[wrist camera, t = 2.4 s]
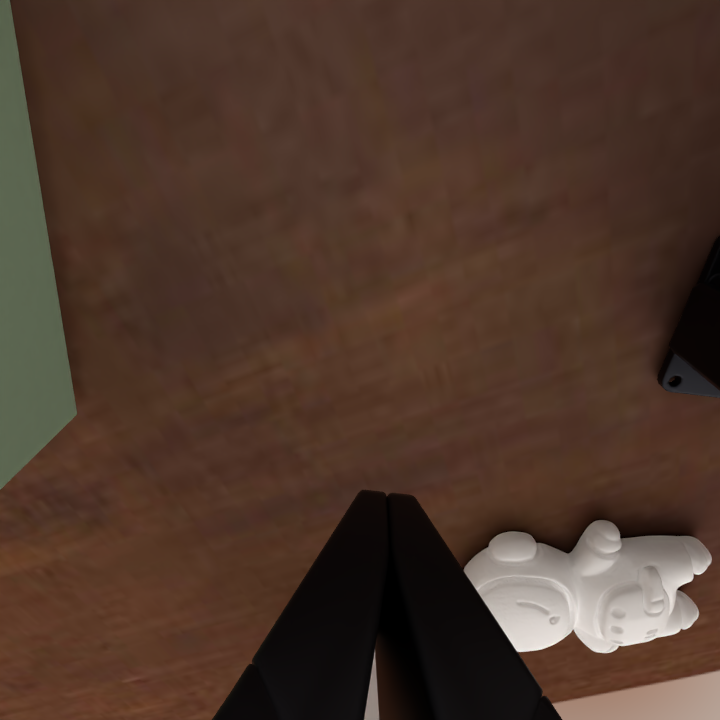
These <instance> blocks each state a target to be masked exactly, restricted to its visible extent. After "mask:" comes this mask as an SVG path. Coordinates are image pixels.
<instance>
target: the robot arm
mask: <svg viewBox="0 0 720 720" xmlns="http://www.w3.org/2000/svg"><path fill="white" fill-rule="evenodd" d="M669 346H670V348H669V351H668V353H667V356H666V358H665V360H664V363H663V365H662V367H661V370H660V372H659V374H658V379H657V380H658V383H659V384H660V385H661V386H662V387H663V388H664V389H665V390H666V391H669V392H676V393H684V394H693V395H701V396H709V397H718V398H720V236H719V237H718V238H717V239H716V241H715V242H714V245H713V247H712V249H711V252H710V254H709V256H708V259H707V261H706V263H705V266H704V268H703V271H702V273H701V275H700V278H699V280H698V282H697V285H696V286H695V287H694V288H693V289H692V292H691V294H690V296H689V299H688V301H687V303H686V306H685V308H684V310H683V313H682V315H681V318H680V320H679V322H678V325H677V327H676V329H675V332H674V334H673V337H672V339H671V341H670V344H669ZM673 376H676V378H675V380H673V381H672V382H669V380H670V378H671V377H673ZM374 653H375V660H376V676H377V692H378V707H379V720H562V719H561V717H560V716H559V714H558V713H557V711H556V710H555V708H554V706H553V705H552V703H551V702H550V700H549V699H548V697H546V696H542V693H543V691H542V689H541V687H540V686H539V684H538V683H537V681H536V680H535V678H534V676H533V675H532V673H531V672H530V670H529V669H528V667H527V666H526V664H525V663H524V661H523V660H522V658H521V657H520V655H519V654H518V652H517V651H516V649H515V648H514V646H513V645H512V643H511V642H510V640H509V639H508V637H507V636H506V634H505V633H504V631H503V630H502V628H501V627H500V625H499V624H498V622H497V621H496V619H495V617H494V616H493V614H492V613H491V611H490V610H489V608H488V607H487V605H486V604H485V602H484V601H483V599H482V598H481V596H480V595H479V593H478V592H477V590H476V589H475V587H474V586H473V584H472V583H471V581H470V580H469V578H468V577H467V575H466V574H465V572H464V571H463V569H462V568H461V566H460V565H459V563H458V561H457V560H456V558H455V557H454V555H453V554H452V552H451V551H450V549H449V548H448V546H447V545H446V543H445V542H444V540H443V539H442V537H441V536H440V534H439V533H438V531H437V530H436V528H435V527H434V525H433V524H432V522H431V521H430V519H429V518H428V516H427V515H426V513H425V512H424V510H423V509H422V507H421V506H420V504H419V502H418V501H417V499H416V498H415V497H414V496H412V495H407V494H398V493H390V494H389V495H388V496H386V494H385V493H384V492H380V491H371V490H361V491H360V492H359V493H358V494H357V496H356V498H355V499H354V501H353V502H352V504H351V505H350V507H349V509H348V510H347V512H346V513H345V515H344V516H343V518H342V519H341V521H340V523H339V524H338V526H337V527H336V529H335V530H334V532H333V534H332V535H331V537H330V538H329V540H328V541H327V543H326V545H325V546H324V548H323V549H322V551H321V552H320V554H319V555H318V557H317V559H316V560H315V562H314V563H313V565H312V566H311V568H310V570H309V571H308V573H307V574H306V576H305V577H304V579H303V581H302V582H301V584H300V585H299V587H298V588H297V590H296V592H295V593H294V595H293V596H292V598H291V599H290V601H289V602H288V604H287V606H286V607H285V609H284V610H283V612H282V613H281V615H280V617H279V618H278V620H277V621H276V623H275V624H274V626H273V628H272V629H271V631H270V632H269V634H268V635H267V637H266V638H265V640H264V642H263V643H262V645H261V646H260V648H259V649H258V651H257V653H256V654H255V656H254V657H253V659H252V664H249V665H248V666H247V668H246V669H245V671H244V672H243V674H242V675H241V677H240V679H239V680H238V682H237V683H236V685H235V686H234V688H233V689H232V691H231V693H230V694H229V695H228V697H227V698H226V700H225V701H224V703H223V704H222V706H221V707H220V709H219V710H218V712H217V713H216V715H215V716H214V717H213V719H212V720H364V717H365V710H366V704H367V698H368V691H369V685H370V678H371V672H372V666H373V659H374ZM541 696H542V697H541Z"/></svg>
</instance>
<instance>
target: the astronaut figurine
mask: <svg viewBox="0 0 720 720" xmlns="http://www.w3.org/2000/svg"><path fill="white" fill-rule="evenodd" d="M711 561H712V558H711V554H710V553H709V551H708V550H707V549H706V547H705V546H704V545H703V544H702V543H701V542H700V541H699V540H698V539H696V538H694V537H691V536H640V537H632V538H622V539H620V532H619V530H618V528H617V527H616V526H615V525H614V524H613V523H612V522H610V521H607V520H597V521H594V522H593V523H591V524H590V525H589V526H588V527H587V528H586V530H585V531H584V533H583V534H582V536H581V537H580V539H579V541H578V543H577V544H576V546H575V548H574V549H573V550H572V551H571V552H570V553H568V554H567V553H564V552H562V551H560V550H558V549H556V548H553V547H551V546H549V545H546V544H543V543H536V542H535V540H534V538H533V537H532V536H531V535H529V534H527V533H524V532H516V531H510V532H504V533H501V534H499V535H497V536H495V537H494V538H493V539H492V540H491V541H490V543H489V547H487V548H485V549H484V550H482V551H481V552H479V553H478V554H477V555H475V556H474V557H473V558H472V559H471V560H470V561H469V562H468V564H467V565H466V566H465V568H464V570H463V571H464V572H465V574H466V575H467V577H468V578H469V580H470V581H471V583H472V584H473V586H474V587H475V589H476V590H477V592H478V593H479V595H480V596H481V598H482V599H483V601H484V602H485V604H486V605H487V607H488V608H489V610H490V611H491V613H492V614H493V616H494V617H495V619H496V621H497V622H498V624H499V625H500V627H501V628H502V630H503V631H504V633H505V634H506V636H507V637H508V639H509V640H510V642H511V643H512V645H513V646H514V648H515V649H516V651H519V652H525V651H535V650H541V649H544V648H547V647H549V646H552V645H554V644H556V643H557V642H559V641H560V640H562V639H563V638H565V637H566V636H567V635H569V634H570V633H571V631H572V630H574V632H575V633H576V635H577V636H578V637H579V639H580V640H581V641H582V642H583V643H584V644H585V645H586V646H587V647H589V648H590V649H591V650H593V651H595V652H601V653H610V652H613V651H614V650H616V649H617V648H618V646H627V645H632V644H637V643H643V642H647V641H650V640H653V639H655V638H656V637H663V636H669V635H673V634H676V633H678V632H679V631H680V629H687V628H689V627H690V626H691V625H692V624H693V622H694V621H696V620H697V618H698V616H699V611H698V608H697V606H696V605H695V603H694V602H693V601H692V600H691V599H690V598H689V597H688V596H687V595H686V594H685V593H683V592H681V591H679V590H677V589H678V588H679V587H680V586H681V585H683V584H686V583H688V582H690V581H692V580H693V573H694V574H697V575H700V574H702V573H703V572H704V571H705V570H706V569H707V567H708V566H709V565H710V563H711Z"/></svg>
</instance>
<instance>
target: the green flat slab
mask: <svg viewBox="0 0 720 720" xmlns="http://www.w3.org/2000/svg"><path fill="white" fill-rule="evenodd" d="M76 415H77V409H76V403H75V397H74V391H73V385H72V379H71V373H70V366H69V360H68V354H67V348H66V342H65V336H64V330H63V323H62V317H61V311H60V305H59V299H58V293H57V287H56V280H55V274H54V268H53V262H52V256H51V250H50V244H49V237H48V231H47V225H46V219H45V213H44V207H43V201H42V194H41V188H40V182H39V176H38V170H37V164H36V158H35V151H34V145H33V139H32V133H31V127H30V121H29V115H28V108H27V102H26V96H25V90H24V84H23V78H22V72H21V65H20V59H19V53H18V47H17V41H16V35H15V29H14V22H13V16H12V10H11V4H10V0H0V489H1V488H2V487H3V486H4V485H5V484H6V483H8V482H9V481H10V480H11V479H12V478H13V477H14V476H15V475H16V474H17V473H18V472H19V471H20V470H21V469H22V468H23V467H24V466H25V465H26V464H27V463H28V462H29V461H30V460H31V459H32V458H33V457H34V456H35V455H36V454H37V453H38V452H39V451H40V450H41V449H42V448H43V447H44V446H45V445H46V444H47V443H48V442H49V441H50V440H51V439H52V438H53V437H54V436H55V435H56V434H57V433H58V432H60V431H61V430H62V429H63V428H64V427H65V426H66V425H67V424H68V423H69V422H70V421H71V420H72V419H73V418H74V417H75V416H76Z"/></svg>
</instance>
